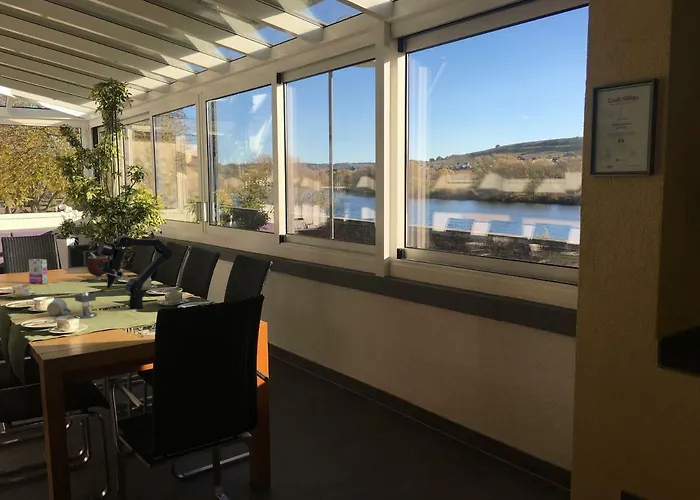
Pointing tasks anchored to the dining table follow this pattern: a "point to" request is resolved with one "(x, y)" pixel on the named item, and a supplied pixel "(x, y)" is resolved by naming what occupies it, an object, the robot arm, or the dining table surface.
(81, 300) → the ring
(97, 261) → the mate gourd
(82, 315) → the pipe stand
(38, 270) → the candy bar box
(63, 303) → the ceramic mug
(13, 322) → the dining table surface
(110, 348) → the dining table surface
